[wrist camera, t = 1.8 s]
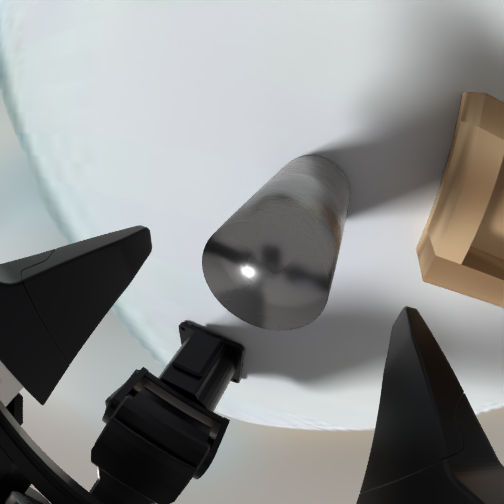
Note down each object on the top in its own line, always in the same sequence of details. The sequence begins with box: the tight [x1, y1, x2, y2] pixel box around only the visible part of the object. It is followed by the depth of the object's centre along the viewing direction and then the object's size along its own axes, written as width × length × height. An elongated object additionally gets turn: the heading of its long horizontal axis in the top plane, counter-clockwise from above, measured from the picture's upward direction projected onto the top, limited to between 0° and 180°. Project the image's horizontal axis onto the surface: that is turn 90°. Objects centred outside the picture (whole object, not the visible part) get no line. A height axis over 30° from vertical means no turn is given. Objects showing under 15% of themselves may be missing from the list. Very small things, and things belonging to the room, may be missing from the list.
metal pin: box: [202, 155, 350, 330], centre depth 11 cm, size 4×4×8 cm
